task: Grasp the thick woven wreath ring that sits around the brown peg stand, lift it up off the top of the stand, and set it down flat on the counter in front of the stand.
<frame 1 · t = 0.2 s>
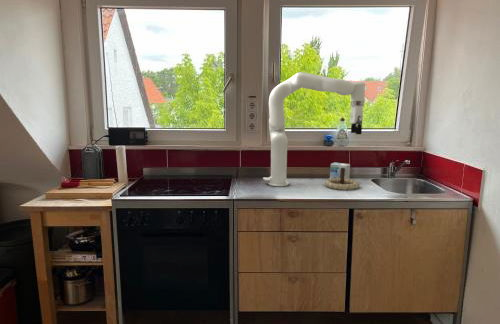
hand: (356, 133, 203), 31 cm above the counter, tool pointing down, fingers open, 9 cm apart
brown peg stand: (341, 186, 204), on the counter
light bulb box: (339, 180, 219), on the counter
woven wreath ring: (341, 183, 203), point 2 cm above the counter
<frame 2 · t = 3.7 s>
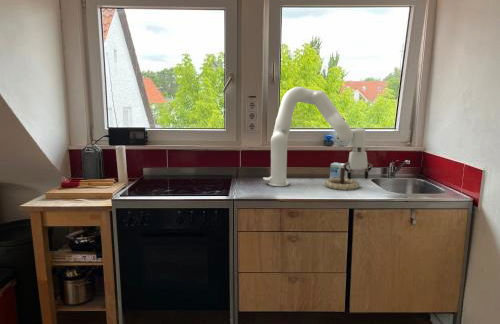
hand: (357, 178, 203), 5 cm above the counter, tool pointing down, fingers open, 9 cm apart
nothing on the counter moved.
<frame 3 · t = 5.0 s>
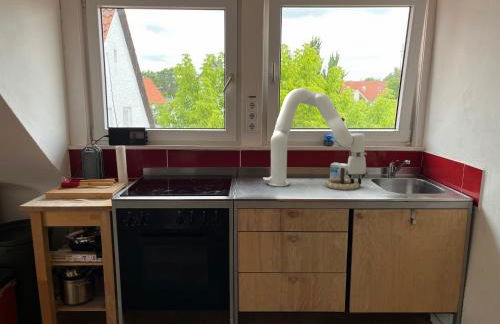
hand: (355, 185, 203), 1 cm above the counter, tool pointing down, fingers closed on woven wreath ring, 3 cm apart
woven wreath ring: (341, 183, 203), point 2 cm above the counter, touching gripper
everything else where it was.
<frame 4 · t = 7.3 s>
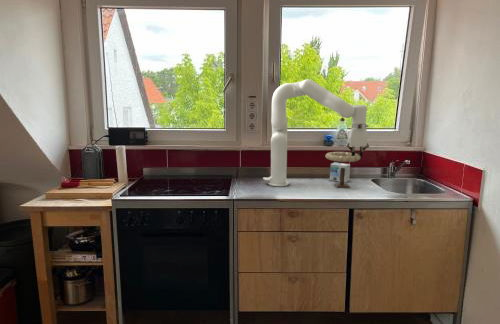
hand: (356, 158, 201), 17 cm above the counter, tool pointing down, fingers closed on woven wreath ring, 3 cm apart
woven wreath ring: (342, 156, 201), point 18 cm above the counter, touching gripper
everything else where it was.
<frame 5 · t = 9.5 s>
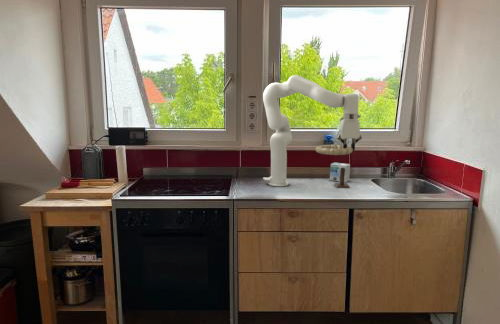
hand: (348, 150, 187), 23 cm above the counter, tool pointing down, fingers closed on woven wreath ring, 3 cm apart
woven wreath ring: (333, 149, 187), point 24 cm above the counter, touching gripper
everything else where it was.
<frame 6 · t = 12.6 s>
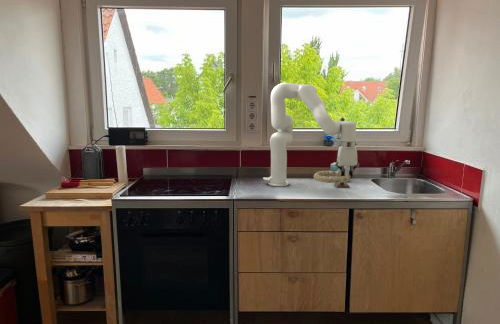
hand: (346, 177, 188), 8 cm above the counter, tool pointing down, fingers closed on woven wreath ring, 3 cm apart
woven wreath ring: (331, 176, 188), point 9 cm above the counter, touching gripper
everything else where it was.
when the fingers open (1 cm above the counter, at t = 14.5 s): woven wreath ring stays where it is, point 2 cm above the counter.
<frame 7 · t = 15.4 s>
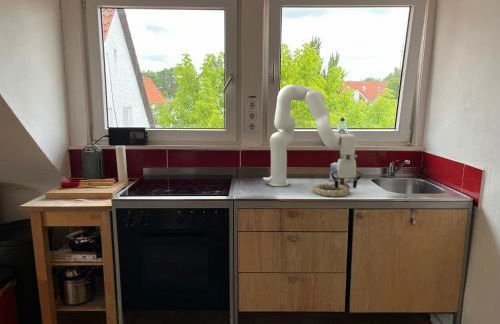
hand: (345, 187, 189), 3 cm above the counter, tool pointing down, fingers open, 9 cm apart
woven wreath ring: (331, 189, 190), point 2 cm above the counter
everything else where it was.
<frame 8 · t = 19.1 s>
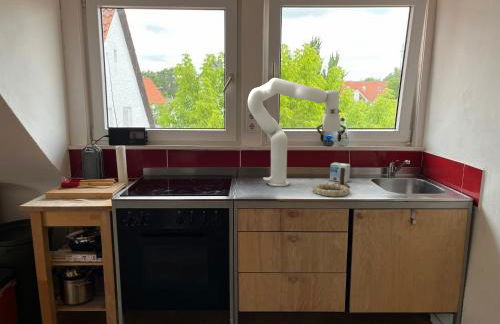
hand: (330, 141, 202), 26 cm above the counter, tool pointing down, fingers open, 9 cm apart
nothing on the counter moved.
at the end: woven wreath ring inside the target area (0.5 cm from its centre), point 1.6 cm above the counter; the gripper is holding nothing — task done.
